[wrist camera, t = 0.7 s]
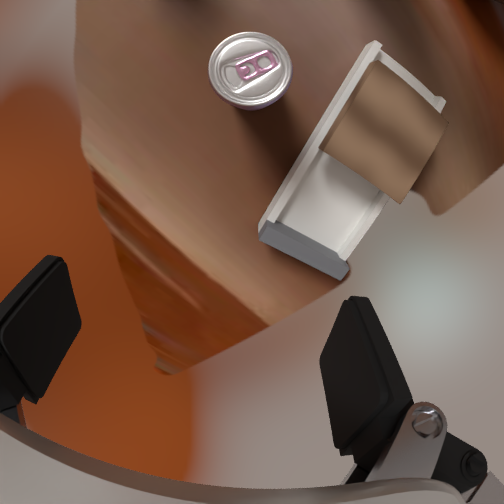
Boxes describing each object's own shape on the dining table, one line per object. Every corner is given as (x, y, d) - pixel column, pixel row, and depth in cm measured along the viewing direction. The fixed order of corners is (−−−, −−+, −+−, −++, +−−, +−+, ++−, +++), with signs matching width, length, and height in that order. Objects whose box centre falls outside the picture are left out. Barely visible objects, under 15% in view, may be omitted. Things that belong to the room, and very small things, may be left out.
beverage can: (285, 98, 30) (309, 88, 17) (240, 118, 31) (230, 123, 18) (263, 56, 27) (269, 17, 14) (217, 77, 29) (190, 53, 15)
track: (366, 44, 26) (382, 36, 21) (434, 100, 28) (455, 102, 24) (258, 223, 37) (258, 240, 33) (331, 261, 40) (340, 280, 35)
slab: (362, 65, 26) (378, 59, 22) (427, 119, 28) (449, 122, 24) (313, 145, 31) (323, 151, 27) (383, 192, 33) (400, 204, 29)
